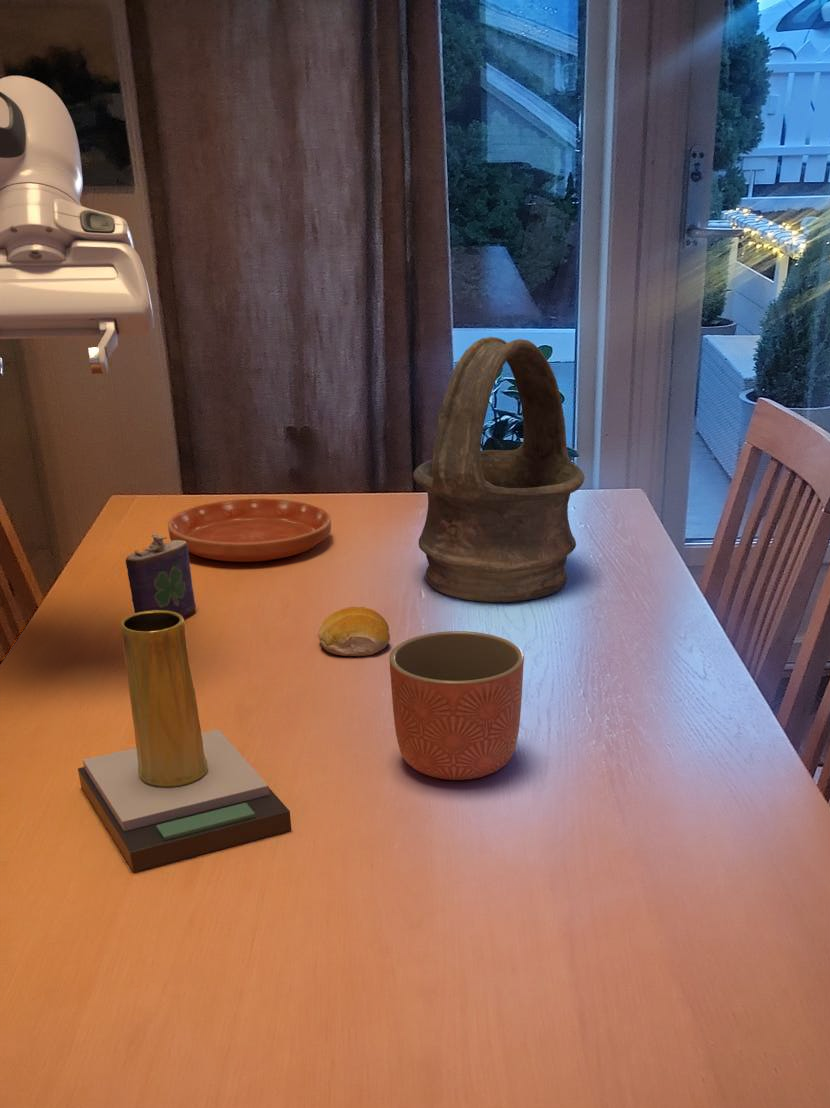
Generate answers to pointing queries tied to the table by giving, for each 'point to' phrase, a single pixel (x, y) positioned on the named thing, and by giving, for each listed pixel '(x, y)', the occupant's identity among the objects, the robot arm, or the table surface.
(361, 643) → the bread roll
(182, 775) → the vase
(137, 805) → the scale
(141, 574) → the flask
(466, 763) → the planter
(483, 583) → the clay pot
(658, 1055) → the table surface
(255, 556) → the saucer
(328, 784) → the table surface
